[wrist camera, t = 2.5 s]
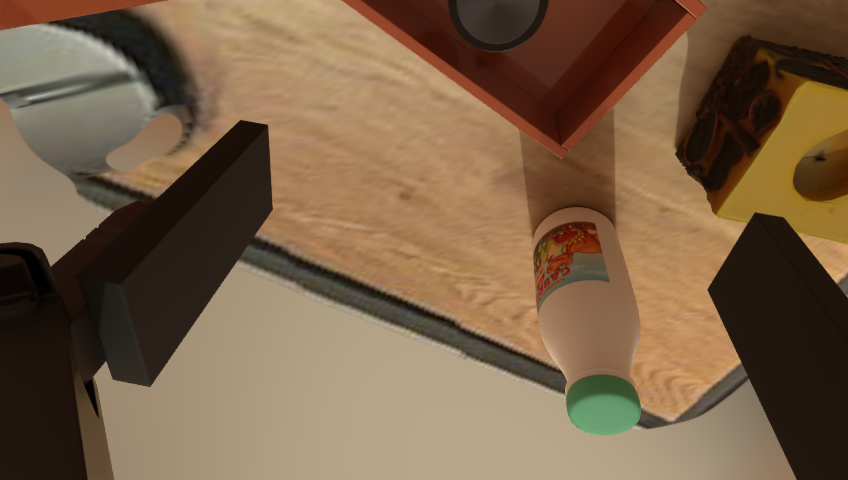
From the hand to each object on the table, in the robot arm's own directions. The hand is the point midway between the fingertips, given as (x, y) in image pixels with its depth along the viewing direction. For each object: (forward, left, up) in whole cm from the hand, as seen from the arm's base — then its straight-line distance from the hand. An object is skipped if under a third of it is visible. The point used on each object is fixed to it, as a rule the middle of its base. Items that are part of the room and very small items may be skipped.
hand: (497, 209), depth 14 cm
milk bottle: (+19, -13, -30) cm, 37 cm away
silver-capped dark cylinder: (-1, +1, -29) cm, 29 cm away
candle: (+22, +5, -30) cm, 37 cm away
